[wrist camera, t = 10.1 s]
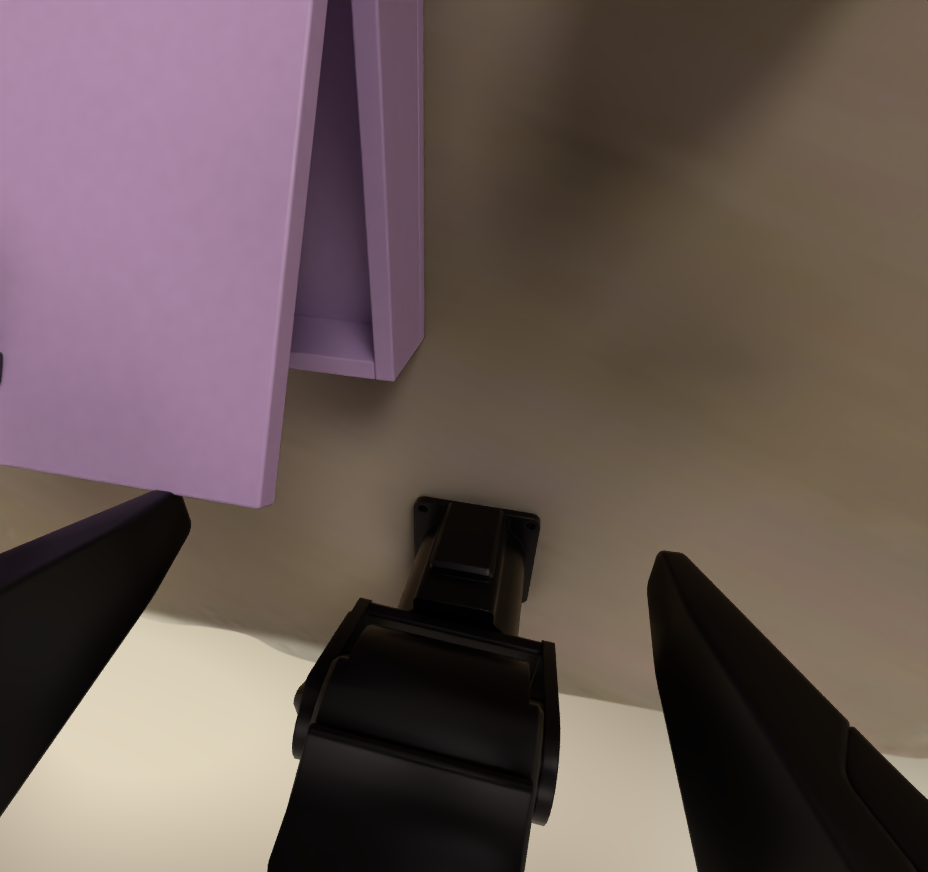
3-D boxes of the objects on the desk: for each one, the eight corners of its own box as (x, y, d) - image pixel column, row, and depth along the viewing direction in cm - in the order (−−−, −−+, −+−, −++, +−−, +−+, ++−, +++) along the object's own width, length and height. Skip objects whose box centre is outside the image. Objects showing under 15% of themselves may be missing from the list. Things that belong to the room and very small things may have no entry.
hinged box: (424, 338, 20) (394, 382, 17) (83, 298, 22) (-7, 331, 19) (423, -198, 12) (364, -324, 9) (-109, -178, 14) (-325, -273, 11)
